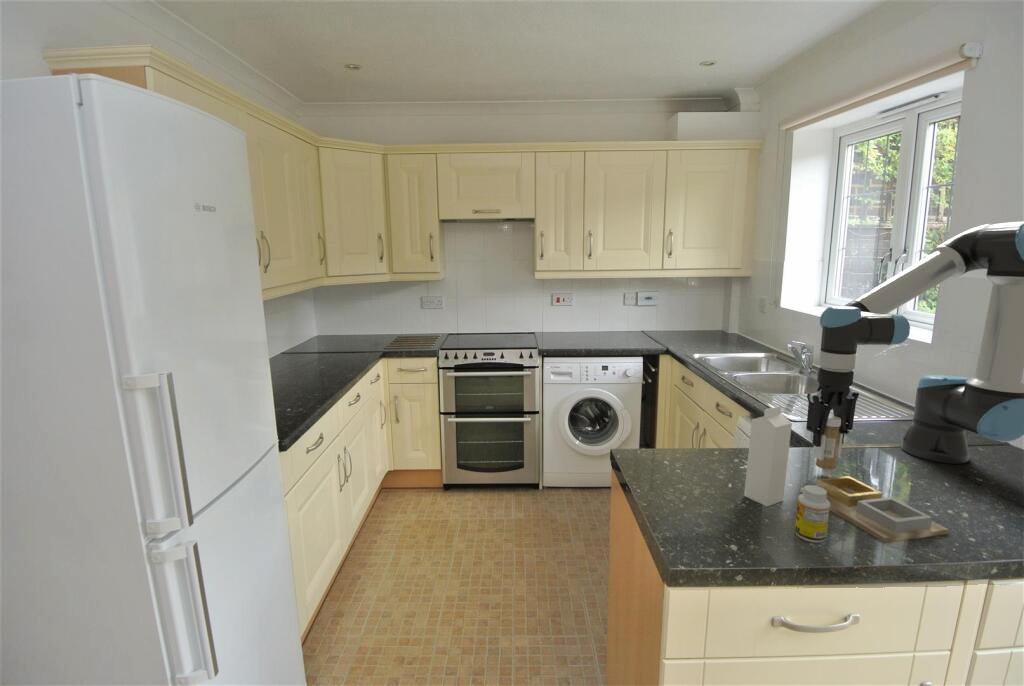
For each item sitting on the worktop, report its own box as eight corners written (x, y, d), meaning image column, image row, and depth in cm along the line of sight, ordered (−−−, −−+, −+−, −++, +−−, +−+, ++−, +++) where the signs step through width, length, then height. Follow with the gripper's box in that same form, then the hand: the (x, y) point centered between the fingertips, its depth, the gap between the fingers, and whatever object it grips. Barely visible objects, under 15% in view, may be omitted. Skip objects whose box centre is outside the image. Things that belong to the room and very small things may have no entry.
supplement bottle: (797, 526, 107) (802, 480, 105) (827, 535, 103) (834, 488, 102) (791, 537, 103) (796, 489, 101) (822, 547, 99) (829, 498, 97)
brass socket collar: (847, 485, 124) (848, 475, 123) (881, 503, 115) (882, 492, 115) (816, 488, 122) (817, 479, 122) (848, 507, 113) (849, 496, 113)
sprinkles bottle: (838, 467, 131) (844, 417, 128) (830, 472, 128) (835, 420, 126) (820, 461, 135) (825, 412, 132) (811, 465, 132) (816, 416, 130)
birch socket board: (855, 486, 126) (855, 482, 126) (947, 533, 105) (948, 529, 105) (800, 492, 122) (800, 488, 122) (884, 542, 101) (885, 538, 101)
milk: (783, 501, 118) (794, 409, 114) (766, 507, 115) (777, 413, 111) (759, 490, 123) (769, 402, 119) (743, 495, 120) (752, 406, 116)
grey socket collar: (889, 507, 113) (891, 496, 113) (930, 528, 105) (932, 517, 104) (856, 511, 111) (857, 500, 111) (894, 533, 103) (896, 522, 102)
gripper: (852, 363, 132) (842, 448, 136) (794, 367, 129) (786, 454, 133) (878, 369, 125) (867, 459, 129) (818, 374, 121) (808, 466, 126)
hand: (826, 456), depth 131 cm, fingers closed on sprinkles bottle, 4 cm apart
